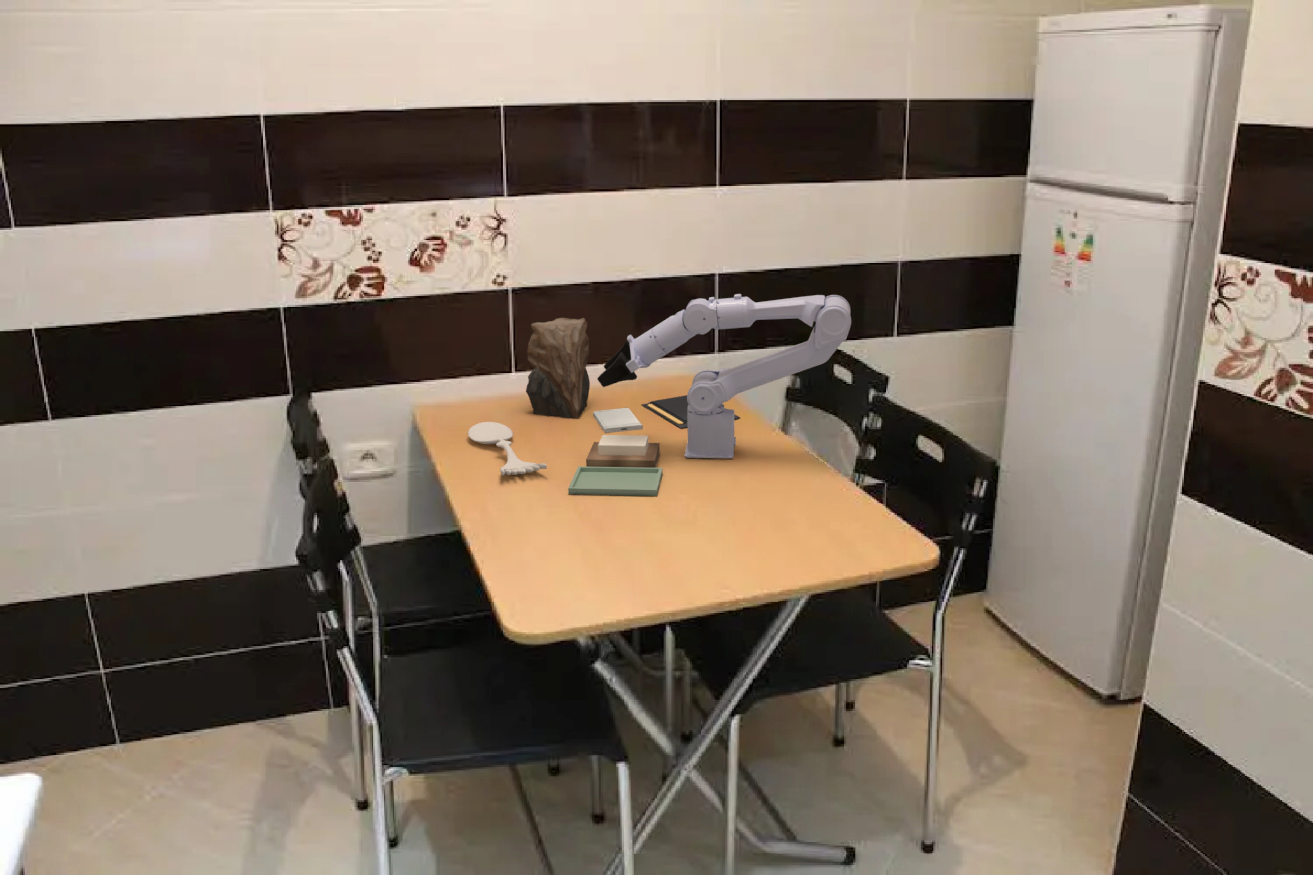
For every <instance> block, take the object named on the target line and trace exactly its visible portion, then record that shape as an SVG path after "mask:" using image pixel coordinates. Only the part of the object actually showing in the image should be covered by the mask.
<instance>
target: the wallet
mask: <svg viewBox="0 0 1313 875" xmlns="http://www.w3.org/2000/svg"><path fill="white" fill-rule="evenodd" d="M688 405H689V404H688V401H687V394H686V395H680V396H675V397H674V396H673V397H669V398H663V399H658V400H651V401H648V402H647V403H642V404H641V407H643V408H645V409H646V410H648V411H650V412H652V413H653V414H655V415H656V416H658V417H660V418H662V420H665V421H667V422H668V423H670V424H672V425H673V426H675V427H677V428H678V429H680V430H683V429H688V418H687V406H688ZM740 419H741V417H740V416H738V415H737V414H735V413H734V421H737V420H740Z"/></svg>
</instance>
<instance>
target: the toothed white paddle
mask: <svg viewBox="0 0 1313 875" xmlns="http://www.w3.org/2000/svg"><path fill="white" fill-rule="evenodd" d="M467 436H468V437H469V439H471V440H472V441H473V442H476V443H479V444H485V445H496V446H497V447H498V448H502V449H504V450H505V453H506V456H507V461H506V464H505V465H503V466H501V468H500V469H499V471H500V474H501V475H502V476H505V475H508V476H512V475H513V476H516V475H524V474H526V473H533V472H534V471H535V472H536V471H540V470H542V469H543V470H544V469H545V470H546V469H547V468H548V466H547V463H543V462H541V463H537V462H536V463H535V462H530V461H529V462H528V461H523V460H521V459H519V457H517V455H516V453H515V452H514V450H513V449H512V447H511V445H512V444H513V442H512V441H509V440H510V439H511V438H512V437H513V436H514V432H513V430H512V429H511V428H510V427H509V426H508V425H505V424H503V423H500V422H497V421H496V422H494V421H482V422H479V423H476V424H474V425H472V426H471V427H470V428H469V429H468V431H467Z"/></svg>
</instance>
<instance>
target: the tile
mask: <svg viewBox="0 0 1313 875" xmlns="http://www.w3.org/2000/svg"><path fill="white" fill-rule="evenodd" d="M649 440H650V438H649V435H641V434H640V435H637V434H634V435H631V434H629V435H627V434H626V435H625V434H623V435H621V434H602V436H601V438H600V440H599V441H598V442H599V444H598V455H622V456H645V455H646V452H647V449H648V446H649V443H650V442H649Z"/></svg>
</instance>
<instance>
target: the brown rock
mask: <svg viewBox="0 0 1313 875" xmlns="http://www.w3.org/2000/svg"><path fill="white" fill-rule="evenodd" d="M530 328H531V330H532V334H531V335H530V338H529V340H528V343H527V349H526V351H527V352H526V354H527V361H528V362H529V363H530V365H531V366H532V369H531V371H530V373H529V375H527V378H528V379H527V380H528V383H527V384H526V389H525V393H526V394H527V396H528V399H529V401H530V404H531V408H532V409H533V410H532V412H533V413H532V414H533V415H536V416H547V417H555V418H561V419H572V420H580V417H581V415H582V414H583V412H585V410H586V408H587V407H588V400H589V396H590V395H589V394H590V385H591V383H590V377H589V374H588V370H587V364H588V360H589V355H590V343H589V342H590V340H589V336H588V335H587V328H588V322H587V320H586V318H585V317H582V318H578V319H577V318H569V317H568V318H567V317H559V318H557V317H556V318H554V320H552V321H551V320H550V321H549V320H548V321H546V322H541V321H540V322H539V321H538V322H537V321H536V322H532V323H531V324H530Z"/></svg>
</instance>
